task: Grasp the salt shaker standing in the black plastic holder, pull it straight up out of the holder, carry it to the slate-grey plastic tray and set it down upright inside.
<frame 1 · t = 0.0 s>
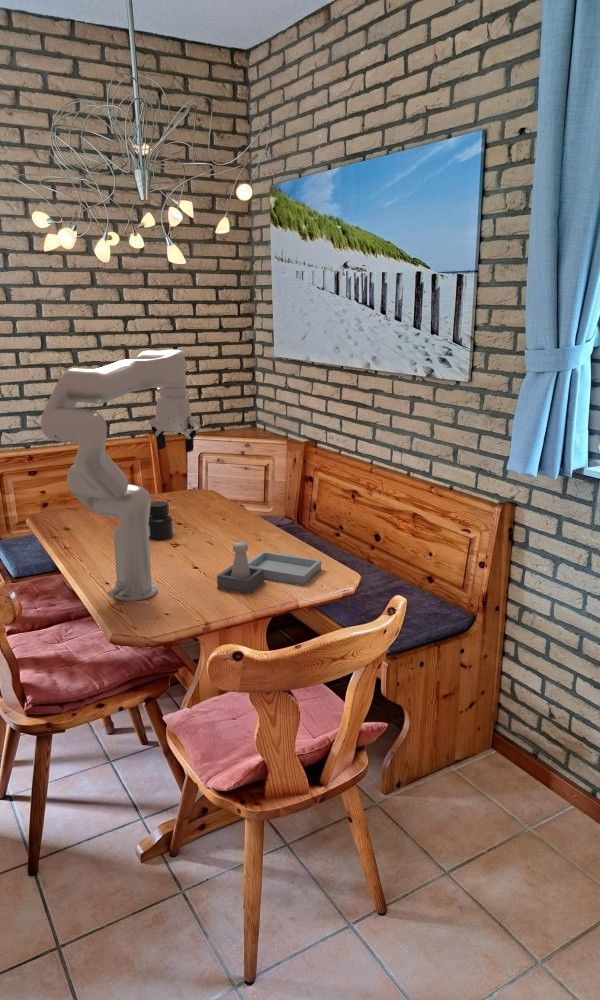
hand: (175, 450, 212), 37 cm above the table, tool pointing down, fingers open, 9 cm apart
ink bottle: (160, 537, 248), on the table
holder: (240, 585, 207), on the table
salt shaker: (240, 585, 207), resting in holder
tray: (282, 572, 217), on the table
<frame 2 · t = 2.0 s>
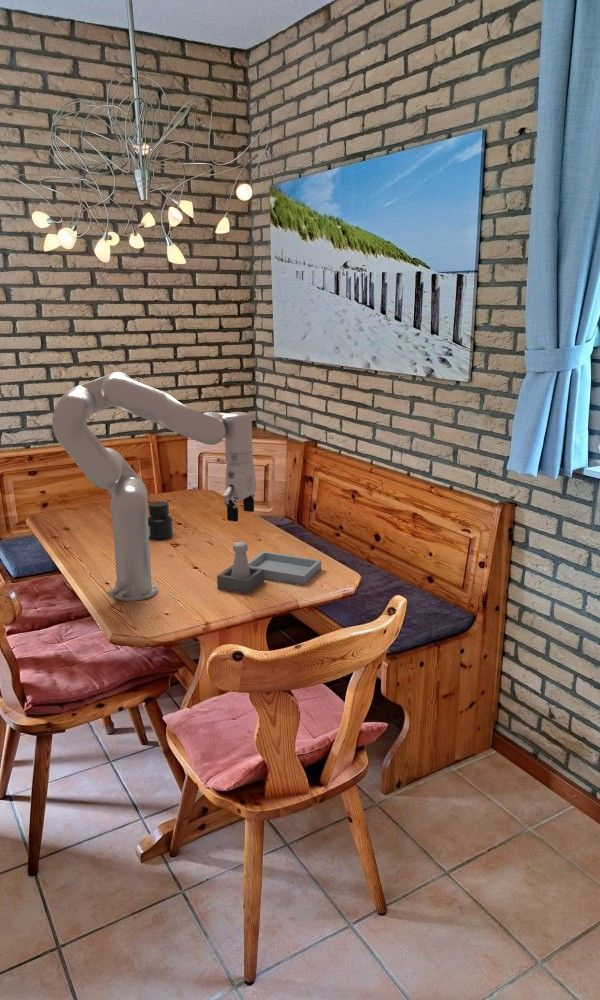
hand: (241, 515, 201), 21 cm above the table, tool pointing down, fingers open, 9 cm apart
nothing on the table moved.
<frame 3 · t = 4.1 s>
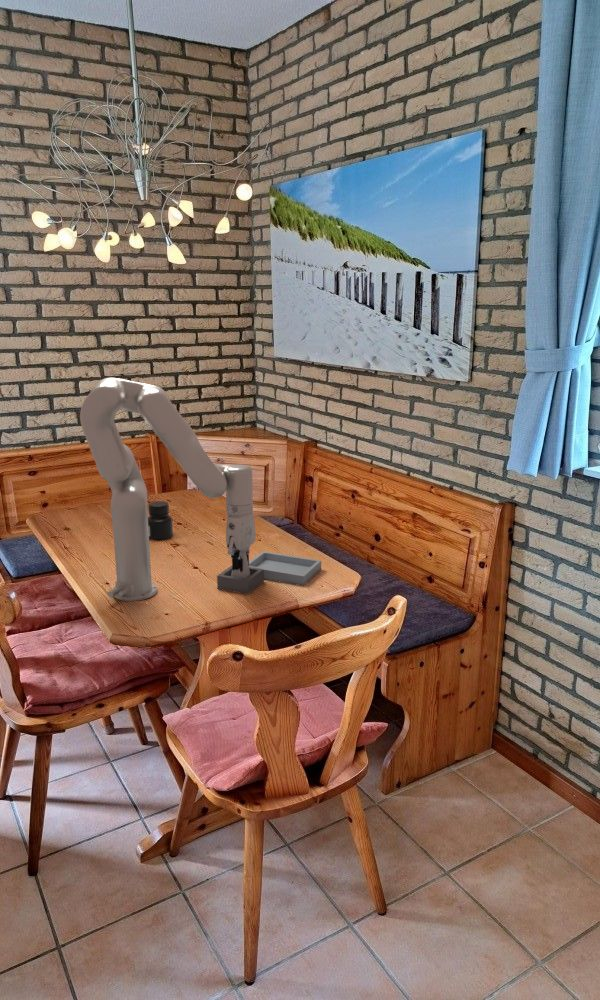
hand: (240, 568, 206), 5 cm above the table, tool pointing down, fingers closed on salt shaker, 3 cm apart
salt shaker: (240, 585, 207), resting in holder, touching gripper
everything else where it was.
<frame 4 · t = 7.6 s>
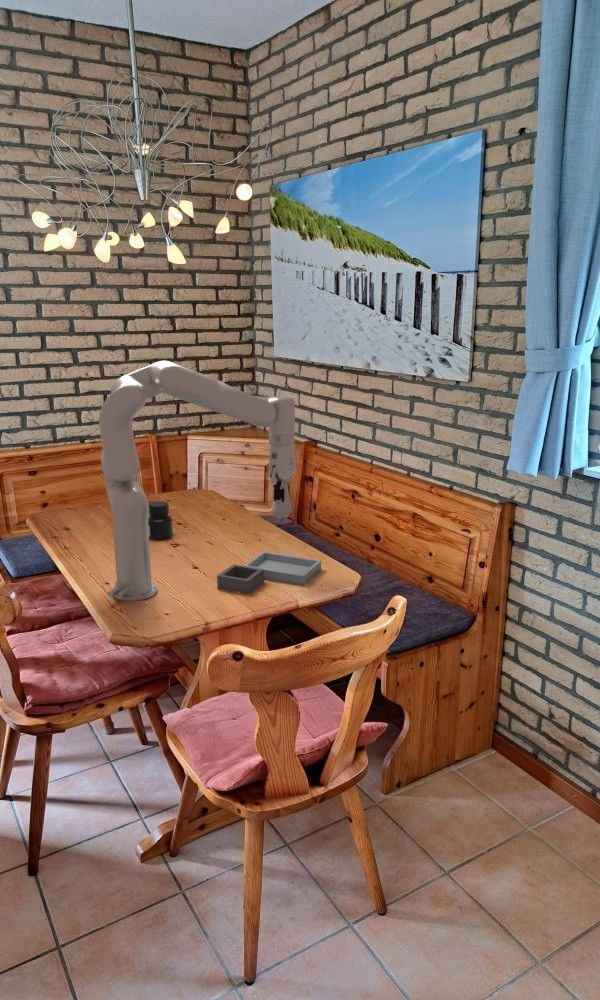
hand: (281, 499, 210), 23 cm above the table, tool pointing down, fingers closed on salt shaker, 3 cm apart
salt shaker: (281, 517, 212), point 18 cm above the table, touching gripper
everything else where it was.
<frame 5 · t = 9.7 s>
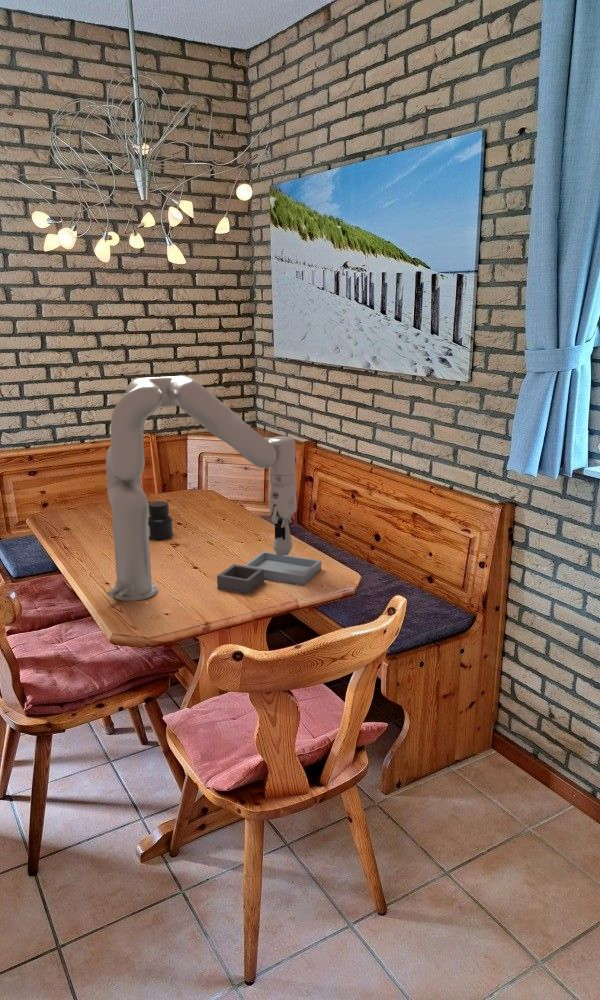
hand: (282, 537, 214), 11 cm above the table, tool pointing down, fingers closed on salt shaker, 3 cm apart
salt shaker: (282, 553, 215), point 6 cm above the table, touching gripper
everything else where it was.
when the fingers open (7 cm above the table, at t = 11.2 s): salt shaker drops 1 cm, resting on tray.
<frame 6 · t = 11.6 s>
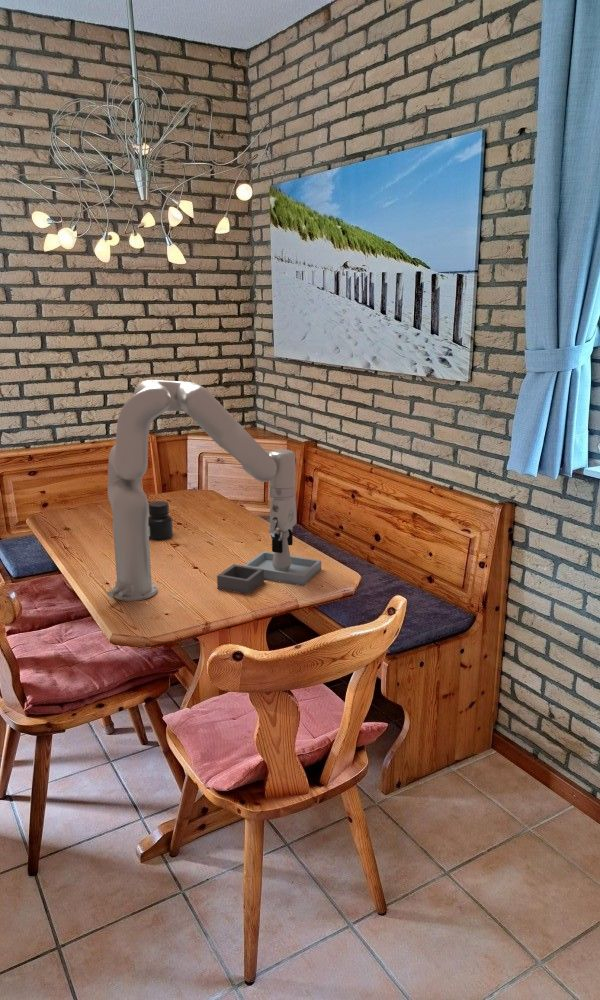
hand: (282, 547, 215), 8 cm above the table, tool pointing down, fingers open, 6 cm apart
salt shaker: (281, 570, 216), point 1 cm above the table, touching tray
everything else where it was.
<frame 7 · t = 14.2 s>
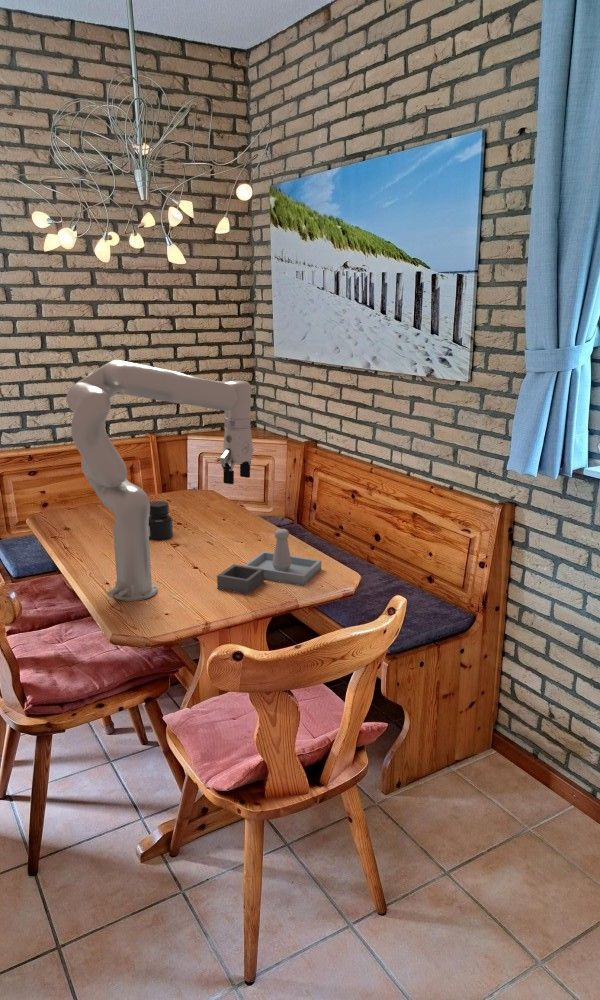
hand: (236, 480, 212), 28 cm above the table, tool pointing down, fingers open, 9 cm apart
nothing on the table moved.
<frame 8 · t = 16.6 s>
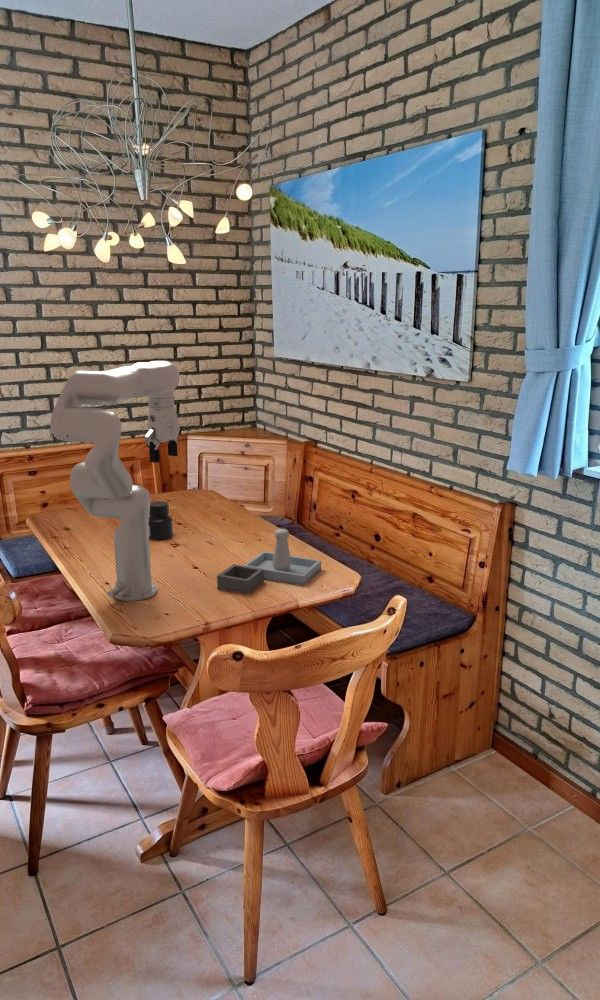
hand: (164, 458, 216), 33 cm above the table, tool pointing down, fingers open, 9 cm apart
nothing on the table moved.
at the end: salt shaker inside the target area on the tray (0.4 cm from its centre), point 0.6 cm above the tray's base; salt shaker tilted 0°; the gripper is holding nothing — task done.
